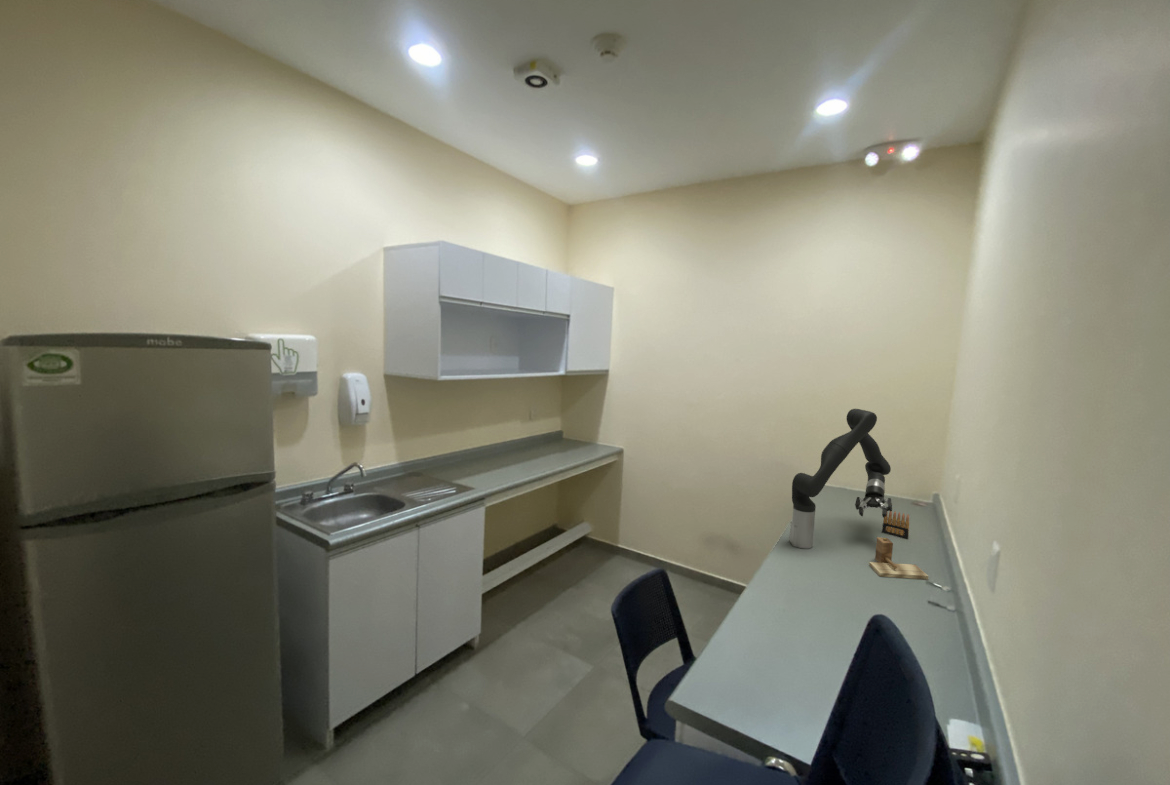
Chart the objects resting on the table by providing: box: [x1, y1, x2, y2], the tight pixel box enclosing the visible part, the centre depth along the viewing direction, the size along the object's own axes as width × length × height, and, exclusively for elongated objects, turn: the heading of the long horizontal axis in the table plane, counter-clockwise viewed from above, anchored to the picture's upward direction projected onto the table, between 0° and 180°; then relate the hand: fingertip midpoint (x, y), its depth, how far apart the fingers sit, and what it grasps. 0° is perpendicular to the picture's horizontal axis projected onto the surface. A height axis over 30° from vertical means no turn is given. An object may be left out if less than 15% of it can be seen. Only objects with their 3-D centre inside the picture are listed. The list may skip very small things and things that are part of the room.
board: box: [868, 561, 929, 581], centre depth 191 cm, size 18×9×2 cm, turn 83°
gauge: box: [874, 536, 897, 569], centre depth 195 cm, size 4×12×11 cm, turn 173°
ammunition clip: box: [881, 510, 910, 540], centre depth 225 cm, size 11×2×12 cm, turn 46°
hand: (872, 515), depth 209 cm, fingers open, 8 cm apart
